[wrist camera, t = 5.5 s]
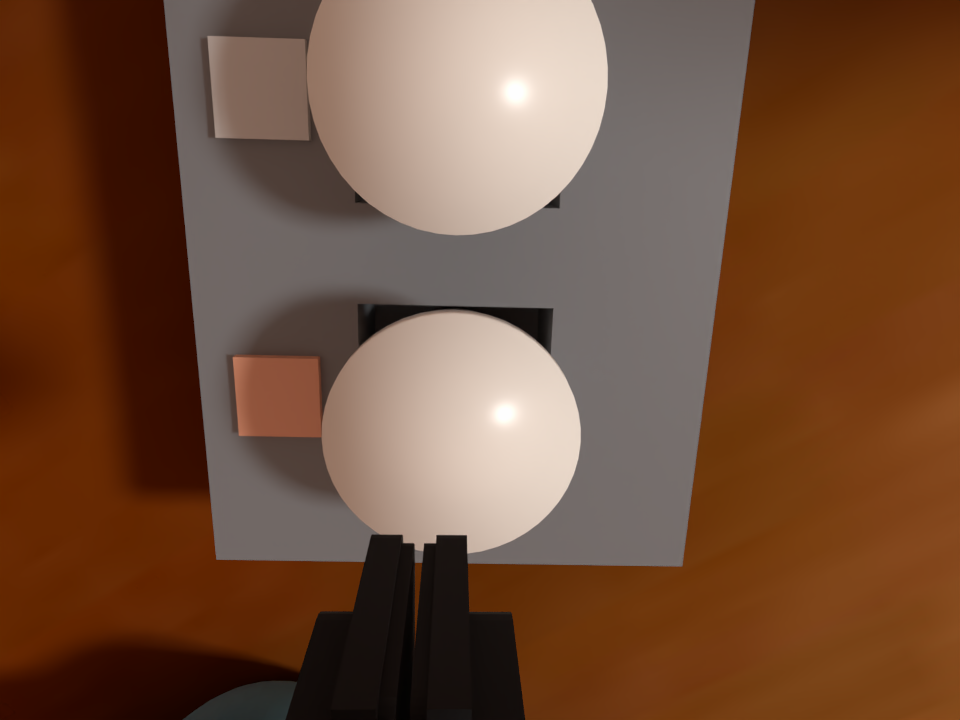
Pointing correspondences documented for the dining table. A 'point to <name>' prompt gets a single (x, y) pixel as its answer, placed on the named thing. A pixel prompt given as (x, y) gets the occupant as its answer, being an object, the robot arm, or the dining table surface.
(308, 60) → the button middle
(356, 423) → the button
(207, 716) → the casserole dish
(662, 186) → the button board
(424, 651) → the robot arm
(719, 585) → the dining table surface
